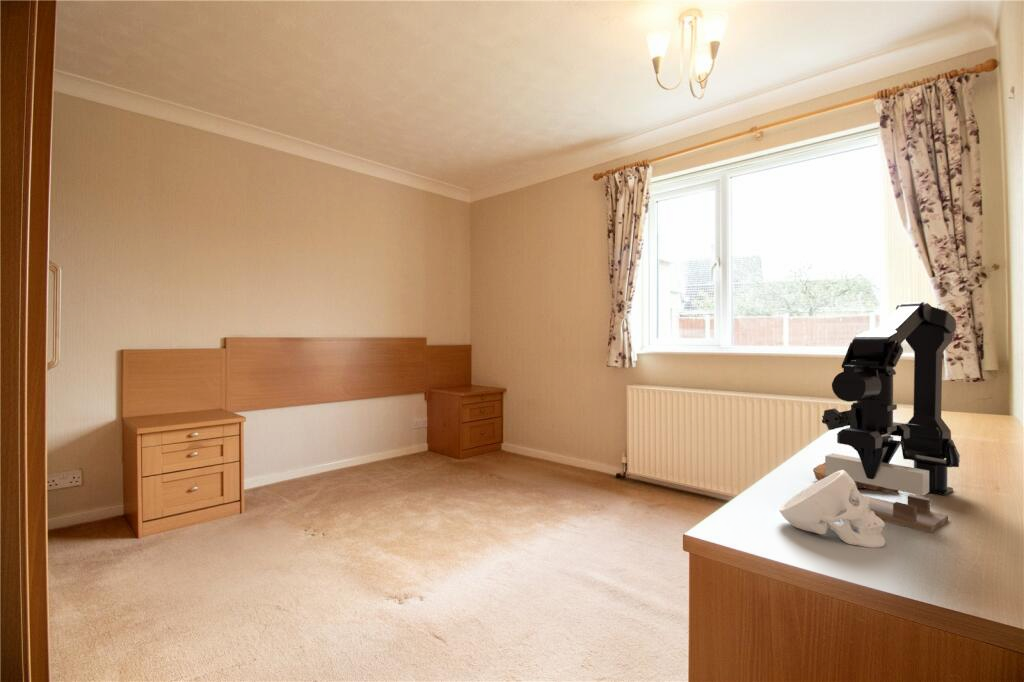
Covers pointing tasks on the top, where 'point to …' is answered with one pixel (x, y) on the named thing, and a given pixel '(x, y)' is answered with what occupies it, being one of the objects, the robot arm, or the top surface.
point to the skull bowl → (835, 511)
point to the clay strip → (881, 474)
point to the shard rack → (909, 513)
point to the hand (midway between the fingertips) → (874, 477)
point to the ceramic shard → (820, 474)
